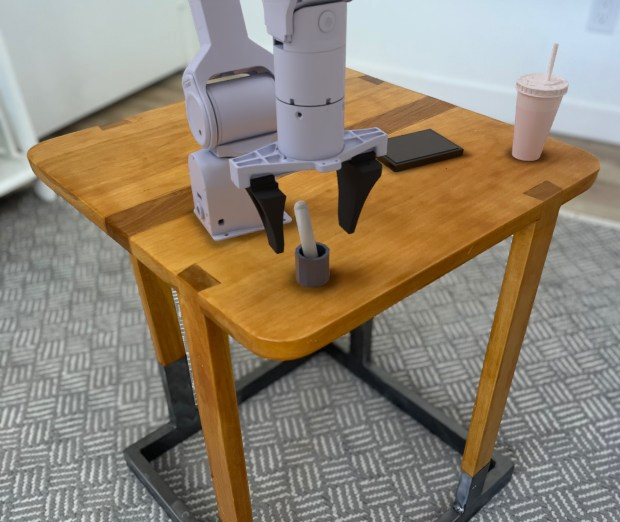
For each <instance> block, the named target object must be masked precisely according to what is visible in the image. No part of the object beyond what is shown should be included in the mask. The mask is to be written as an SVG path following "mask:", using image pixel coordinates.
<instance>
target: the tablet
mask: <svg viewBox="0 0 620 522" xmlns="http://www.w3.org/2000/svg"><path fill="white" fill-rule="evenodd" d="M464 152H465V148H464V147H462V146H460V145H458V144H457V143H456V142H453V141H451V140H450V139H448V138H447V137H445V136H443V135H442V134H440V133H438V132H437V131H435V130H433V129H432V128H427V129H422V130H418V131H414V132H408V133H404V134H401V135H396V136H391V137H388V141H387V154H386V155H383V156H379V157H377V156H376V158H375V159H376V160H377V161H379V162H380V163H381V164H382V165H385V166H386V167H387V168H388V169H390V170H391V171H393V172H395V173H396V172H397V173H398V172H400V171H404V170H405V171H406V170H408V169H413V168H416V167H420V166H425V165H429V164H433V163H436V162H440V161H445V160H449V159H453V158H457V157H461V156H464Z"/></svg>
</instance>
